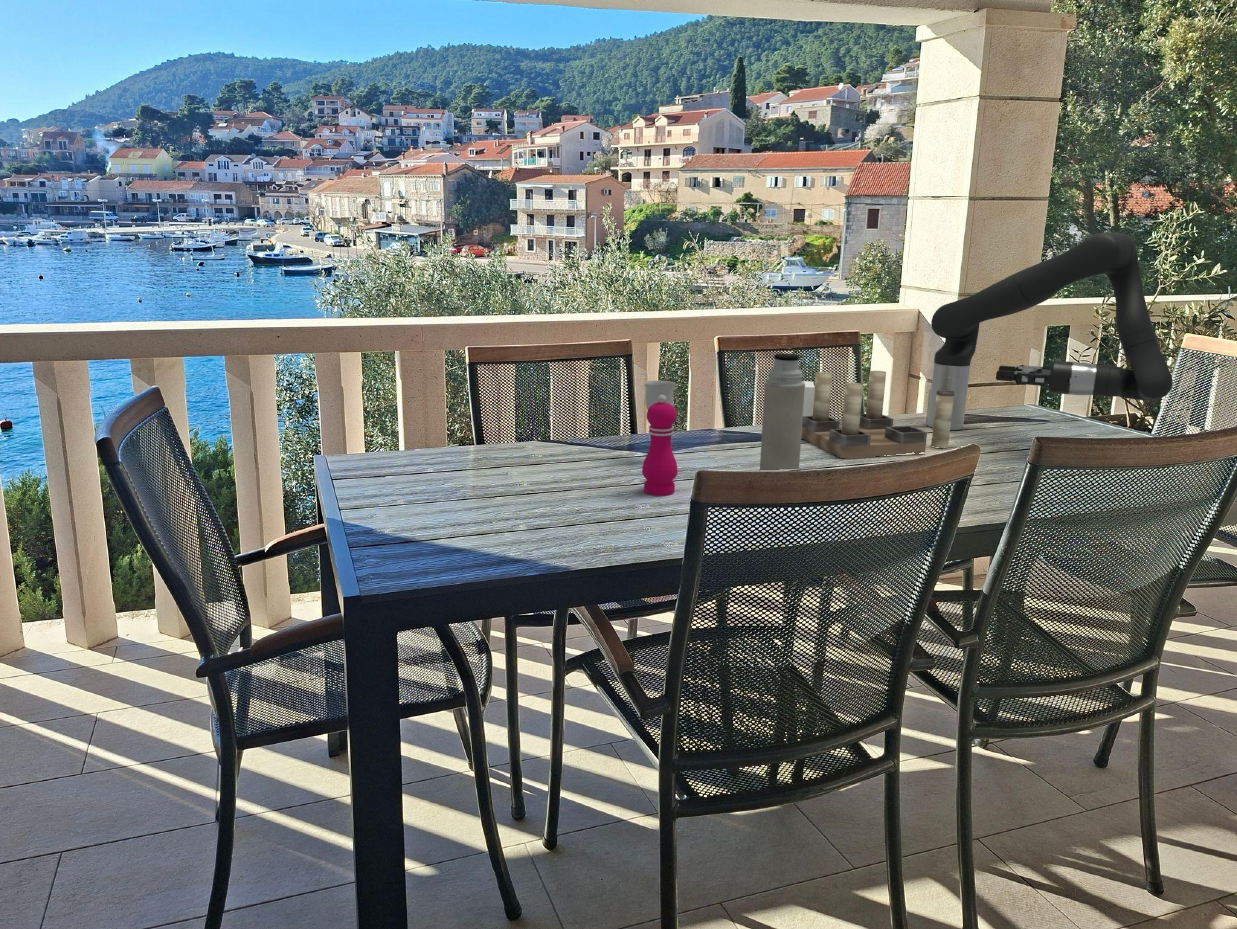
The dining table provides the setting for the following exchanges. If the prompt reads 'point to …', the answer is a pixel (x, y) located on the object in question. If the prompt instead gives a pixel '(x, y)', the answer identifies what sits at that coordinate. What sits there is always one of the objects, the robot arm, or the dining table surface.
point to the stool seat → (858, 423)
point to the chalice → (659, 391)
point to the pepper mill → (660, 450)
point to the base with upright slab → (808, 398)
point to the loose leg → (942, 418)
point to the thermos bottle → (782, 415)
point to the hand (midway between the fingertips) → (997, 372)
